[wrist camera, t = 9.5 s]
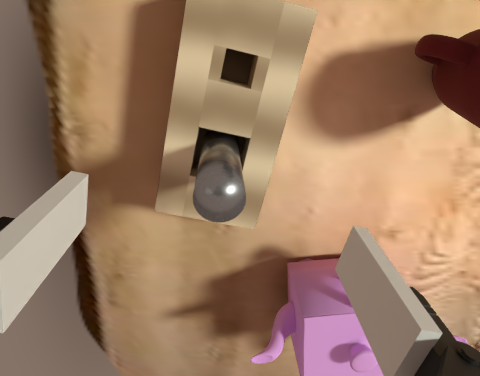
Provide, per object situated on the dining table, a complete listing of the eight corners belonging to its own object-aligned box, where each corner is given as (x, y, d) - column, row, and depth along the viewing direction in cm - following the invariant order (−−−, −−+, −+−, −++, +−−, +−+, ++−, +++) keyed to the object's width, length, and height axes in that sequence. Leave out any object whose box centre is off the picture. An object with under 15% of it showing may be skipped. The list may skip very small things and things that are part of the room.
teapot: (315, 346, 43) (343, 436, 33) (243, 289, 39) (249, 373, 29) (414, 275, 40) (478, 354, 30) (345, 205, 35) (393, 268, 25)
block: (195, -14, 27) (189, -25, 22) (302, 16, 28) (317, 10, 23) (164, 188, 34) (154, 211, 29) (250, 205, 35) (254, 229, 30)
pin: (206, 122, 30) (198, 168, 19) (241, 130, 31) (252, 180, 20) (199, 155, 31) (188, 217, 20) (233, 162, 32) (239, 226, 21)
